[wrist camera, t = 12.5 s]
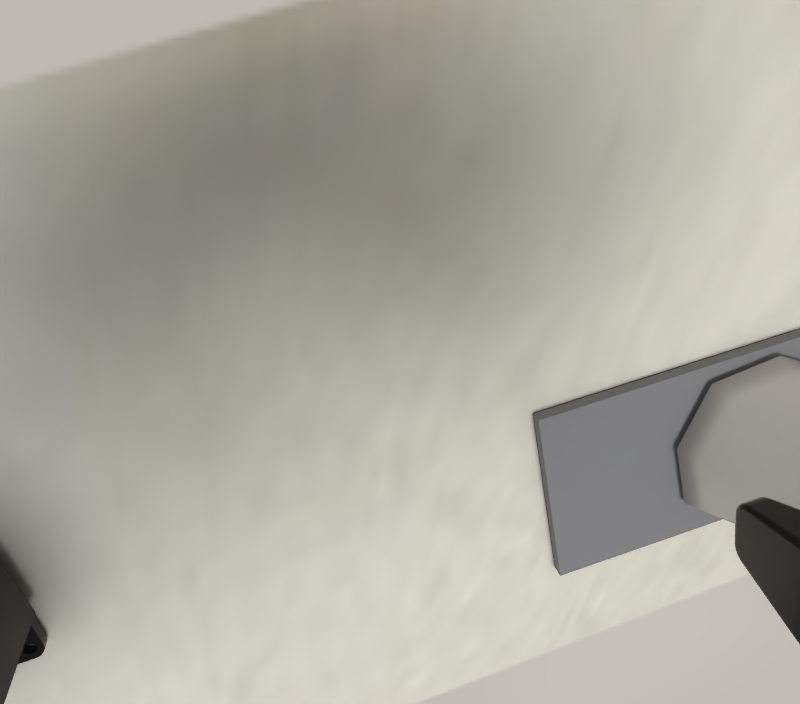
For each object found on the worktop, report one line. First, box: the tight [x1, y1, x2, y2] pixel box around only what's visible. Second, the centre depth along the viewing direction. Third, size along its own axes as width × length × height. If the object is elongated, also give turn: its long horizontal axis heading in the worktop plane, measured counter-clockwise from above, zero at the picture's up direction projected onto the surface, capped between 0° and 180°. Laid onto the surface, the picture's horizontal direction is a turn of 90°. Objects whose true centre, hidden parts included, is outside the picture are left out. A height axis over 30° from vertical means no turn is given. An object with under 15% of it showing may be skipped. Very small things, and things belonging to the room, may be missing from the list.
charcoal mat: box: [533, 329, 800, 576], centre depth 27 cm, size 20×8×1 cm, turn 102°
